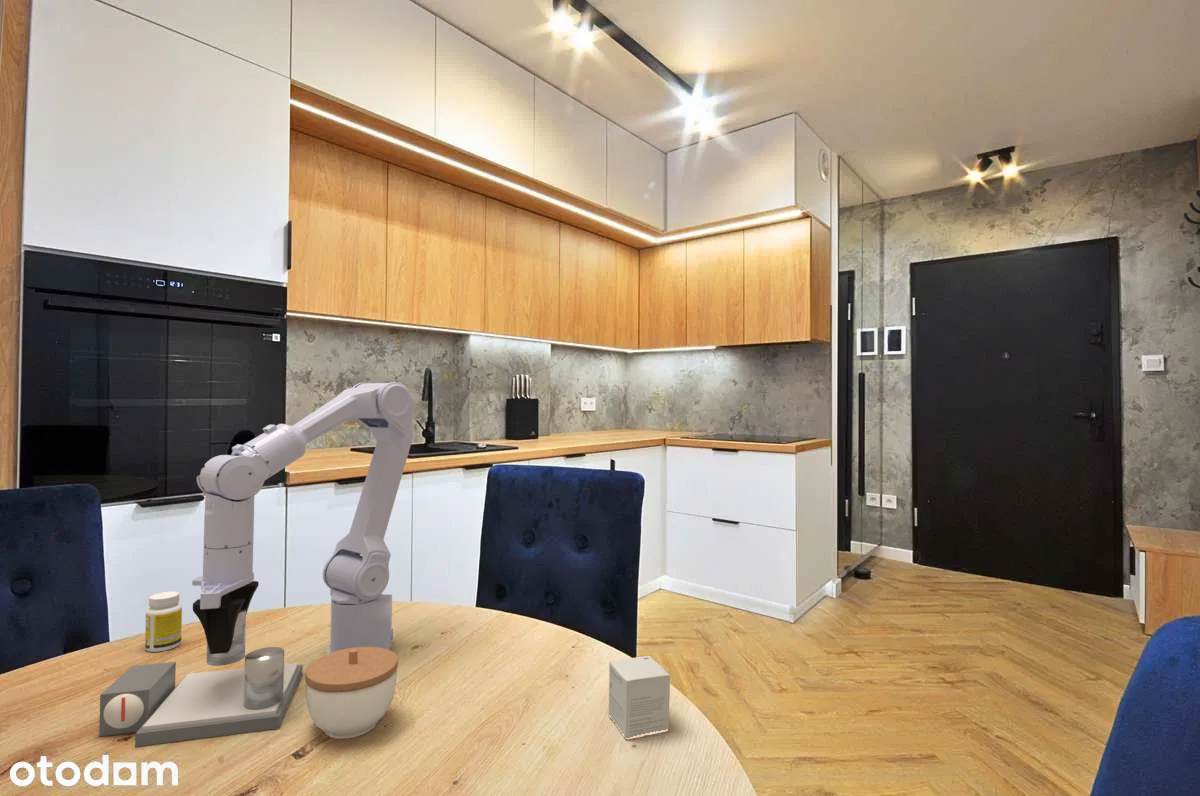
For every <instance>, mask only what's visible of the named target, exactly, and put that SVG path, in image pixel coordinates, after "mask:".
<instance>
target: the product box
mask: <svg viewBox="0 0 1200 796" xmlns="http://www.w3.org/2000/svg"><path fill="white" fill-rule="evenodd" d="M608 666H609V667H608V668H609V671H608V672H609V674H608V675H609V676H608V677H609V679H608V716H609V715H610V716H611V718H612V719H613V720H614V721H615V723H616V724H617V725H618V727H619V728H620V730H621V731H622V733H623V734H624V736H625V738H630V737H633V736H637V735H641V734H645V733H650V732H654V731H655V732H656V731H661V730H666V729H669V730H670V726H669V725H670V698H671V697H670V694H671V693H670V689H671V675H670V674H669V673H668V672H667V671H666V670H665V669H664V668H663V667H662V665H661V664H659V662H657V661H656V660H654V658H653V657H652V656H650V655H644V656H638V657H637V656H636V657H632V658H631V657H630V658H623V659H617V660H612V661H609V665H608Z"/></svg>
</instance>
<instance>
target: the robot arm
mask: <svg viewBox="0 0 1200 796" xmlns="http://www.w3.org/2000/svg"><path fill="white" fill-rule="evenodd" d="M415 406H416V400H414V397H413V396H412V393H411V392H410V390H409V388H408V387H407V386H406V385H404V384H403V383H401V382H398V381H393V382H391V381H390V382H373V383H372V382H367V381H366V382H359V383H357V384H355V385H353V386H352V387H349V388H346V389H344V390H342V392H340V393H339V395H337V396H335V397H334V398H332V399H331V400H330V401H328V402H326V403H325V404H323V405H322V406H320V407H318V408H317V409H315V410H314V411H313V412H311V413H309V414H308V415H306V416H305V417H304V418H302V419H301V420H299V421H298V422H296V423H294V424H293V425H289V424H285V423H278V424H277V425H276V424H268V425H266V426H265V427H263V428H262V430H263V433H261V434H259V435H258V436H256V437H254V438H253V439H251V440H249V441H247V442H245V443H243V444H239V443H237V444H236V445H234V446H232V447H231V451H232V452H231V454H220V455H217V456H214V457H212V458H210V459H209V460H207V462H206V463H205V464H204V467H202V468H201V469H200V474H199V475H197V476H196V483H197V486H198V488H199V489H200V491H202V492H203V493H204V495H205V499H204V516H203V517H204V518H203V519H204V521H203V522H204V523H203V555H202V558H203V560H202V562H203V563H202V575H201V576H196V577H194V578H193V579H192V580H191V585H192V586H195V587H196V586H199V587H200V589H201V593H200V597H199V598H200V599H199V598H197V599H196V600H195V601H194V602H193V603H192V610H193V611H192V612H193V613H194V614H195V615H196V617H197V618H198V619H199V622H200V624H201V626H202V628H203V631H204V635H205V639H206V645H207V644H208V647H209V651H210V654H220V653H228V652H229V651H230V648H231V645H232V641H233V636H234V630H235V624H236V621H237V617H238V614H239V612H240V609H244V610H246V616H247V613H248V610H249V607H250V604H251V601H252V599H253V596H254V594H255V592H256V591H257V589H258V587H259V583H260V582H259V581H257V580H255V573H254V571H253V569H254V565H253V564H254V535H255V534H254V533H255V531H254V530H255V528H254V527H255V496H257V494H259V492H260V491H261V490H262V488H263V485H264V484H265V481H266V480H268V479H270V478H271V477H272V476H274V475H276V474H277V473H279V472H280V471H282V470H283V469H285V468H287V467H288V466H289V465H291V464H292V463H295V462H296V461H297V460H299V459H301V458H302V457H303V456H304V455H305V454H306V449H307V445H308V444H309V443H310V442H312V441H315V440H316V439H318V438H319V437H321V436H323V435H325V434H326V433H329V432H330V431H332V430H334V429H336V428H337V427H340V426H342V425H343V424H344V423H346V422H348V421H349V420H352V419H357V420H358V421H359V422H360V423H361V424H363V425H364V426H365V427H366V428H367V429H368V430H369V431H370V432H371V434H372V436H373V438H374V439H375V441H376V444H375V448H374V451H373V454H372V457H371V461H370V464H369V466H368V471H367V473H366V477H365V480H364V483H363V487H362V491H361V494H360V495H359V499H358V500H359V501H358V502H357V506H356V510H355V513H354V517H353V519H352V523H351V526H350V528H349V532H348V534H346V535H345V536H344V537H343V538H341V539H340V540H339V541H338V542H336V545H335V549H334V551H333V553H332V555H331V556H330V557H329V558H328V560H327V561H326V562H325V565H324V567H323V569H322V579H323V582H324V584H325V585H326V586H327V588H329V589H330V593H329V595H330V604H331V605H330V643H329V647H328V648H327V649H328V650H327V652H326V654H329V653H332V652H335V651H339V650H343V649H348V648H355V647H379V648H384V649H387V650H390V651H391V645H392V644H391V643H392V641H393V640H394V628H392V627H393V626H392V625H393V623H392V622H393V621H392V618H393V617H392V616H393V615H392V614H393V595H392V594H384V591H385V590H386V588H387V586H388V583H389V582H390V581H389V579H390V570H389V562H390V559H391V555H392V554H391V551H390V549H389V548H388V546H387V545H386V542H385V536H386V533H387V529H388V526H389V523H390V519H391V515H392V512H393V508H394V505H395V501H396V498H397V493H398V490H399V487H400V483H401V480H402V477H403V473H404V469H405V468H406V467H405V466H406V463H407V459H408V457H409V452H410V450H411V446H412V443H413V435H414V433H413V421H412V420H413V419H412V418H413V414H414V410H415Z"/></svg>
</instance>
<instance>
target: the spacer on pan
mask: <svg viewBox="0 0 1200 796" xmlns="http://www.w3.org/2000/svg"><path fill="white" fill-rule="evenodd" d="M284 664H285V649H284V648H282V647H278V646H270V647H262V648H257V649H255V650H252V651H250V652H248V653H247V654H245V657H244V668H245V676H244V707H245V708H246V709H249V710H260V709H265V708H269V707H272V706H274V705H276V704H278V703H279V702H281V701H282V699H283V685H284Z"/></svg>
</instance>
